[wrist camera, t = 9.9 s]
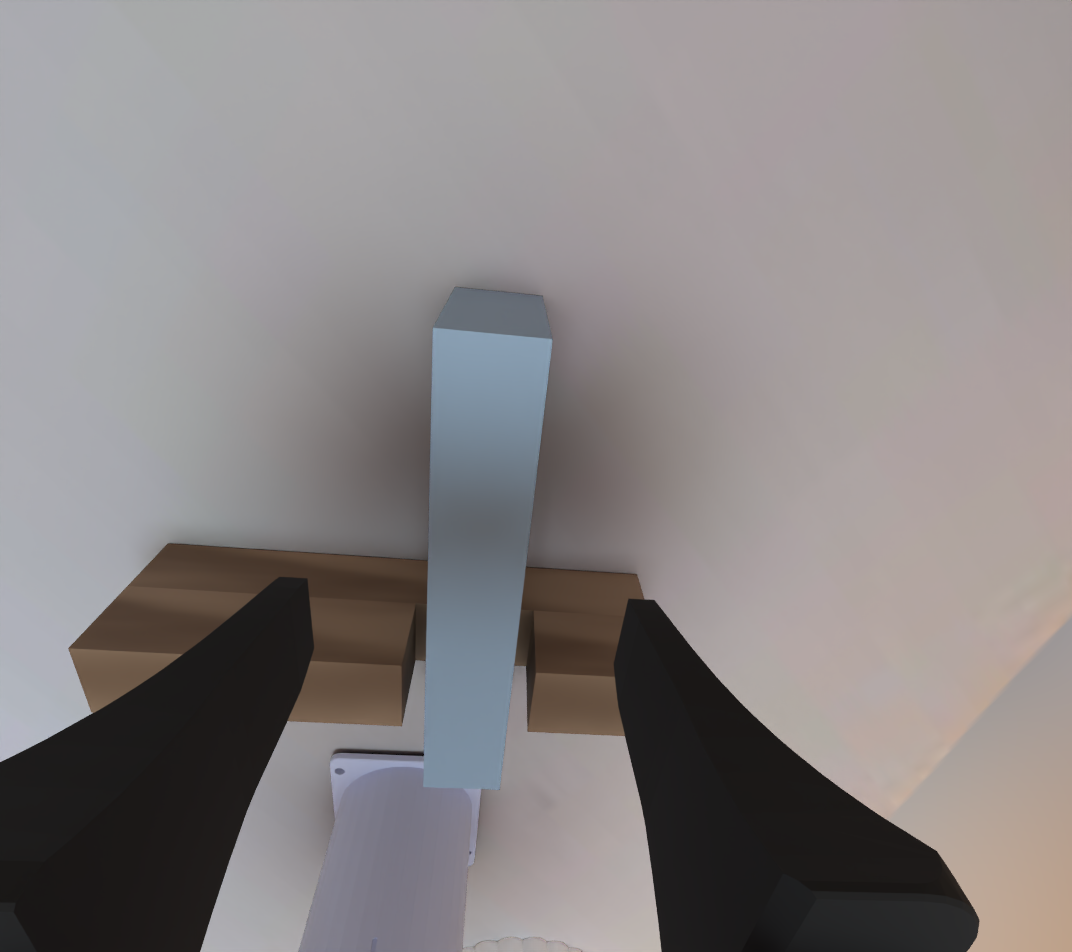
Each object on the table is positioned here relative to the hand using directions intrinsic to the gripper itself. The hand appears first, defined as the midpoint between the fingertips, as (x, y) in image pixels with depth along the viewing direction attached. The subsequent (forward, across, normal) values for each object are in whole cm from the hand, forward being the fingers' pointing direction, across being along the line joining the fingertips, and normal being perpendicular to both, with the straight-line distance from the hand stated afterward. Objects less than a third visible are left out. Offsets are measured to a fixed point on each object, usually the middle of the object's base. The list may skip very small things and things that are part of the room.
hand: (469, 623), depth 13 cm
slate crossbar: (+10, 0, +3) cm, 11 cm away
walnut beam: (+10, +3, +8) cm, 13 cm away
